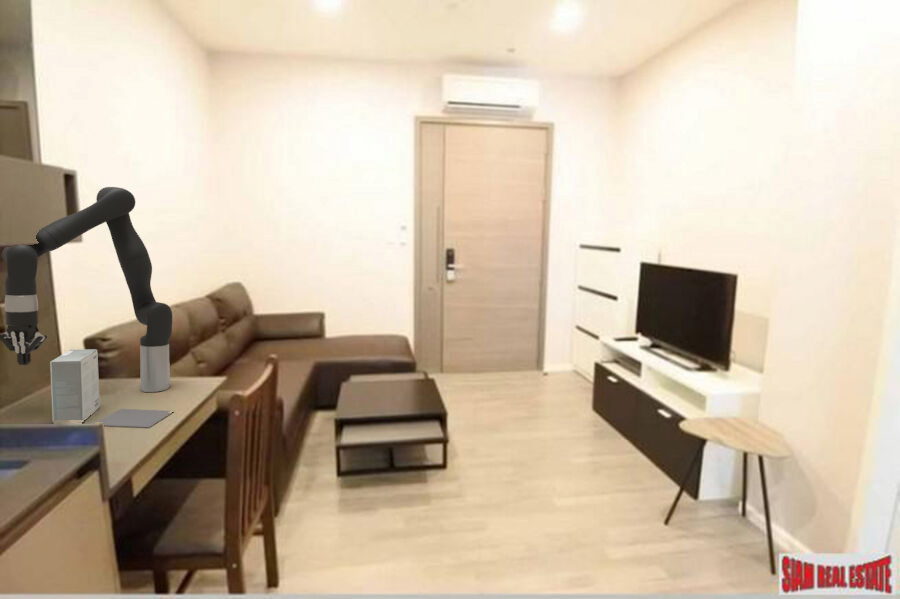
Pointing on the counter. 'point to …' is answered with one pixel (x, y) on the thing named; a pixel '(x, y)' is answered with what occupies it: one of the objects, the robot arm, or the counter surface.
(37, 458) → the counter surface
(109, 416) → the rubber mat
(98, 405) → the hard drive box
